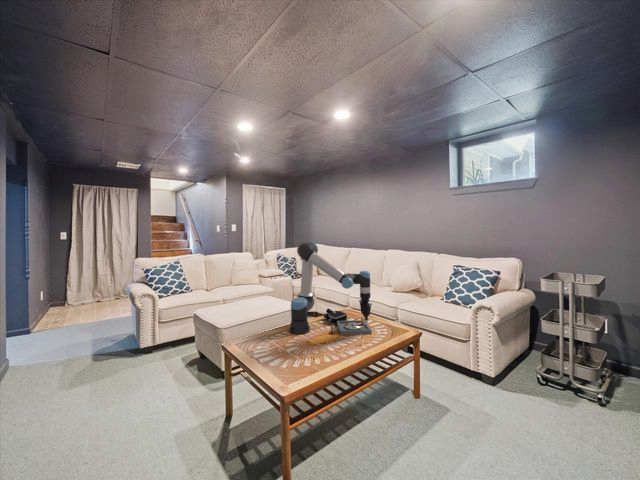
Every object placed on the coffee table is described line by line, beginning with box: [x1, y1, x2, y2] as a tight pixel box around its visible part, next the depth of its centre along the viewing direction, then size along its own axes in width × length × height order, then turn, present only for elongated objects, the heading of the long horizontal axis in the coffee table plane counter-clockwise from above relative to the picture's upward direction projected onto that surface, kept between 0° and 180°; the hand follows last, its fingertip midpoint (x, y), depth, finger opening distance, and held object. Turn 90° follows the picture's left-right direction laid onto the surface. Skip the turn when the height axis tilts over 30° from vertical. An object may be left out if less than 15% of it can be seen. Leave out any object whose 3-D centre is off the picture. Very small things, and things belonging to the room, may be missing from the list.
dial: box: [345, 317, 364, 330], centre depth 217 cm, size 14×13×6 cm
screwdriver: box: [331, 323, 338, 335], centre depth 214 cm, size 3×16×3 cm, turn 3°
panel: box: [336, 319, 372, 336], centre depth 217 cm, size 22×22×3 cm
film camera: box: [322, 308, 348, 326], centre depth 236 cm, size 8×16×15 cm
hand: (365, 324), depth 214 cm, fingers closed
